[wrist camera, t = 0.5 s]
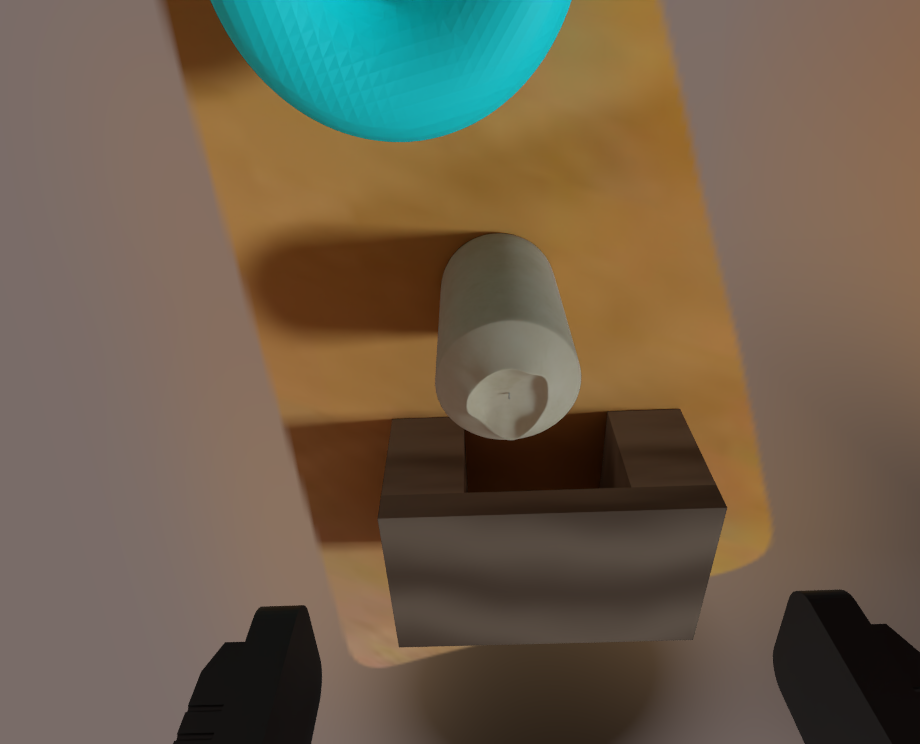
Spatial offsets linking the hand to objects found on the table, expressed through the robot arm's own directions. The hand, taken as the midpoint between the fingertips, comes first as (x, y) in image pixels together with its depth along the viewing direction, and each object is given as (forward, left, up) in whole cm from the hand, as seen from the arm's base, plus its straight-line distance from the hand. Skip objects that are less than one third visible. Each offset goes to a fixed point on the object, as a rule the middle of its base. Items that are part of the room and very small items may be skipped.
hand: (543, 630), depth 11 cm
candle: (+4, 0, -22) cm, 22 cm away
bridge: (+17, +2, -22) cm, 28 cm away
